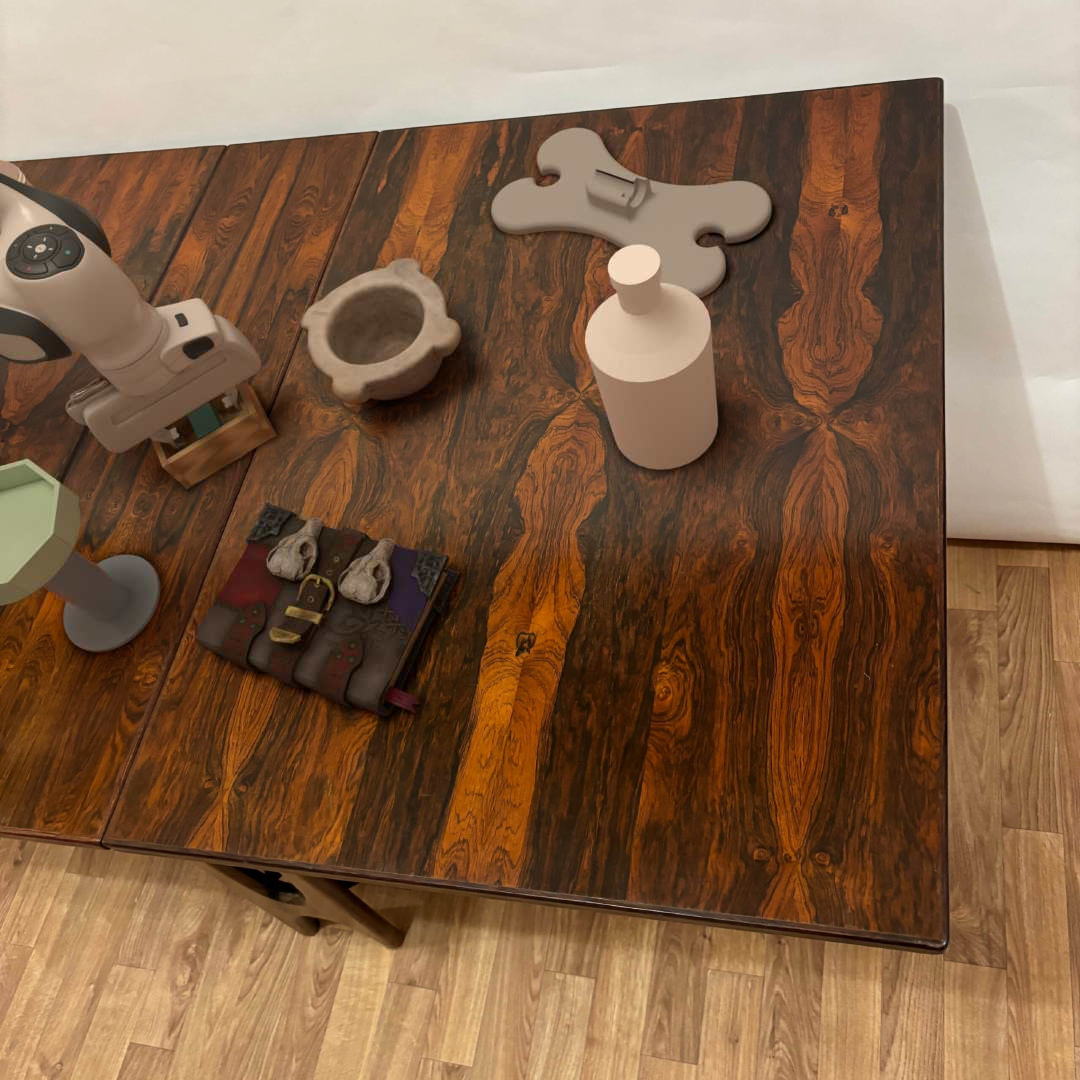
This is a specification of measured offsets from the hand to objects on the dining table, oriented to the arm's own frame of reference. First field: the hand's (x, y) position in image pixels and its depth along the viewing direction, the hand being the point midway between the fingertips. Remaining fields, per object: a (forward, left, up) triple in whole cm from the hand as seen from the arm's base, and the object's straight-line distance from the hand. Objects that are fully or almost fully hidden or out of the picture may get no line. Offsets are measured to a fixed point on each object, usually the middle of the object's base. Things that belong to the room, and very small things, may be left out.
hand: (208, 426), depth 113 cm
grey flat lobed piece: (+55, +19, -4) cm, 58 cm away
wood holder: (0, 0, -3) cm, 3 cm away
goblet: (-13, -19, -3) cm, 24 cm away
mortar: (+24, +4, -4) cm, 25 cm away
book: (+14, -27, -4) cm, 31 cm away
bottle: (+53, -14, -4) cm, 55 cm away
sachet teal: (0, 0, -1) cm, 1 cm away
